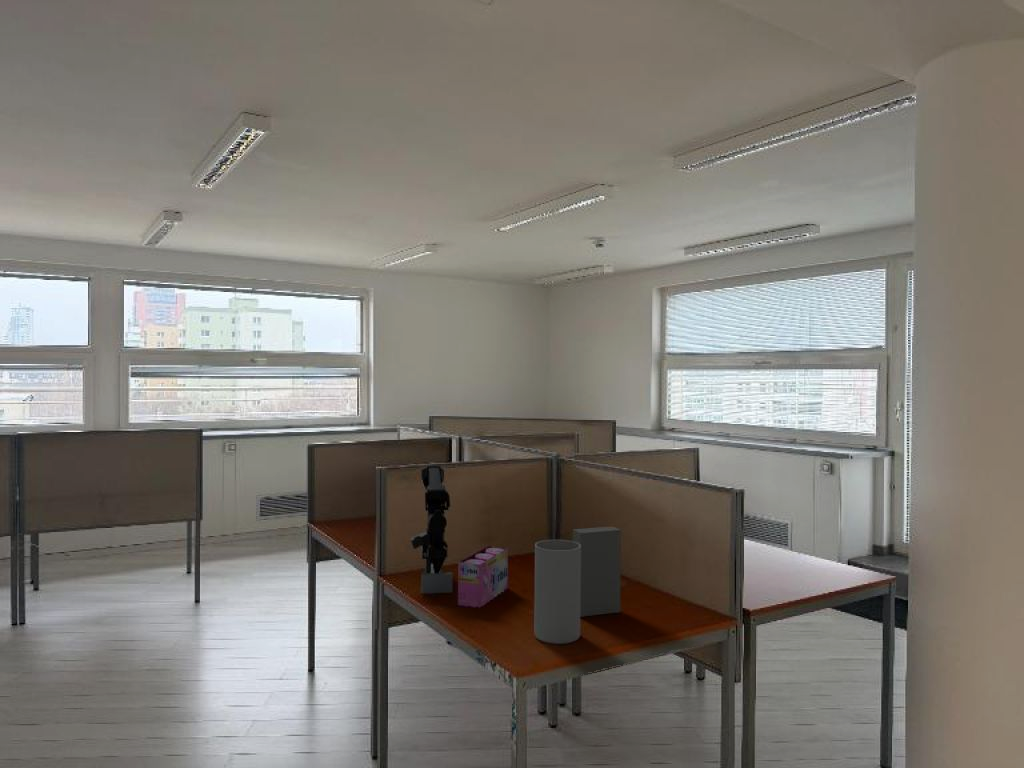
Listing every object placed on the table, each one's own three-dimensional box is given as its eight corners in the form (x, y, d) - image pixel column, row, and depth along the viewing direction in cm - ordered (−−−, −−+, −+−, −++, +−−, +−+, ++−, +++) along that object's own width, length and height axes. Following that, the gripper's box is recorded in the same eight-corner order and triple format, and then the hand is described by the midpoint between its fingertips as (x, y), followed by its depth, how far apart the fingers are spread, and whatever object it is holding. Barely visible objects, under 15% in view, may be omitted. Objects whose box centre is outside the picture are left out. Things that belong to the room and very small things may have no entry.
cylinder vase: (577, 628, 201) (577, 539, 201) (582, 645, 188) (583, 550, 188) (532, 628, 200) (533, 539, 200) (535, 645, 188) (536, 550, 188)
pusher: (420, 584, 241) (420, 564, 241) (450, 583, 243) (450, 563, 243) (421, 593, 232) (421, 572, 232) (452, 592, 233) (452, 571, 233)
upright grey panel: (610, 606, 220) (611, 525, 220) (620, 612, 214) (621, 529, 214) (570, 611, 215) (571, 528, 215) (579, 618, 209) (580, 533, 209)
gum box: (488, 584, 242) (489, 544, 242) (510, 587, 239) (510, 547, 239) (457, 605, 220) (457, 561, 220) (480, 608, 217) (480, 564, 217)
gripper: (411, 520, 249) (410, 564, 249) (412, 532, 230) (412, 580, 230) (443, 519, 250) (442, 563, 251) (447, 531, 232) (446, 578, 232)
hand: (435, 571), depth 241 cm, fingers open, 9 cm apart
